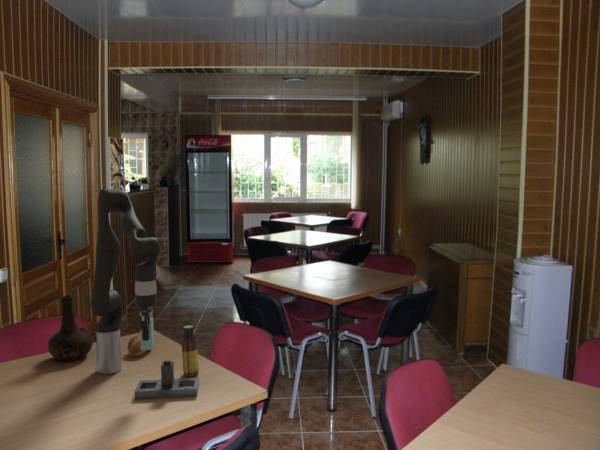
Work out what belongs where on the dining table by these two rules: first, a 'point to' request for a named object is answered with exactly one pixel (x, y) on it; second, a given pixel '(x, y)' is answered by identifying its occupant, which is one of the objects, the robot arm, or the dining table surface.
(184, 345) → the sauce bottle
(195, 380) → the gray slotted rack
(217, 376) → the dining table surface
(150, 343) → the plug
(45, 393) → the dining table surface
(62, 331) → the glass bottle
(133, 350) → the bread roll
